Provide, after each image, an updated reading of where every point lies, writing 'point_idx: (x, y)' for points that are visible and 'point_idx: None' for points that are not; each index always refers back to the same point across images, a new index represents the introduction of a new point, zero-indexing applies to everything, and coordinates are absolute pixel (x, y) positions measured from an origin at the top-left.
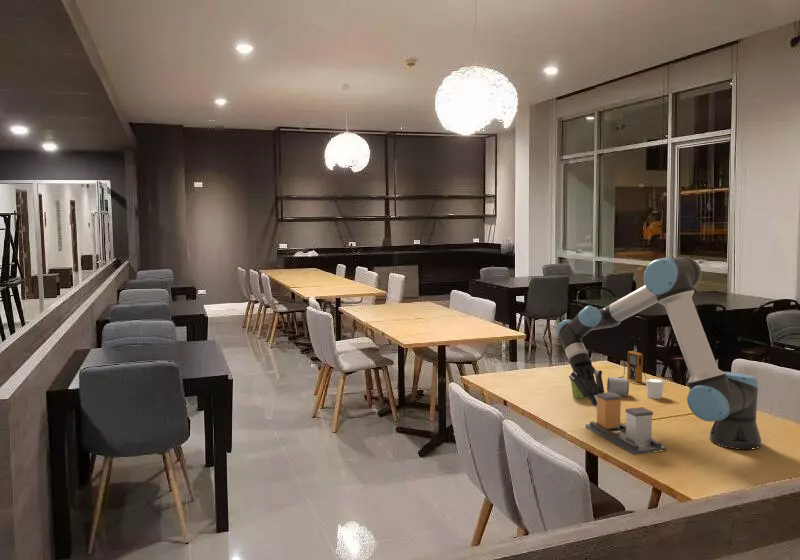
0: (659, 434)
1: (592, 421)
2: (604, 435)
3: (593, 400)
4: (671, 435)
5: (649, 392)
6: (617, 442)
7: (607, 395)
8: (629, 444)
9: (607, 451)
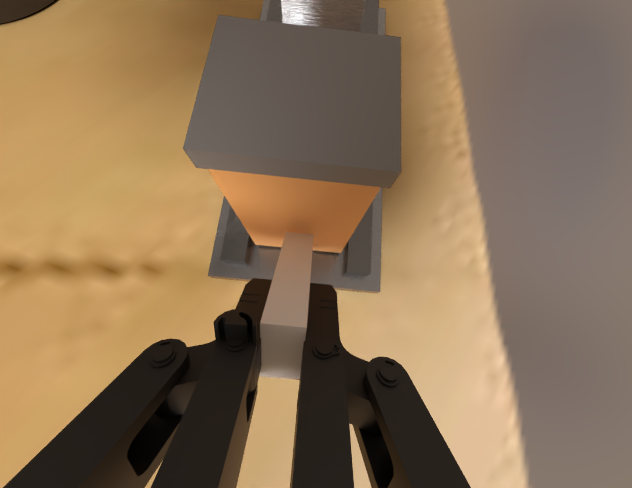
0: (151, 107)
1: (354, 272)
2: None
3: (333, 311)
4: (120, 84)
5: None
6: None
7: (328, 83)
8: (377, 23)
9: (443, 62)
